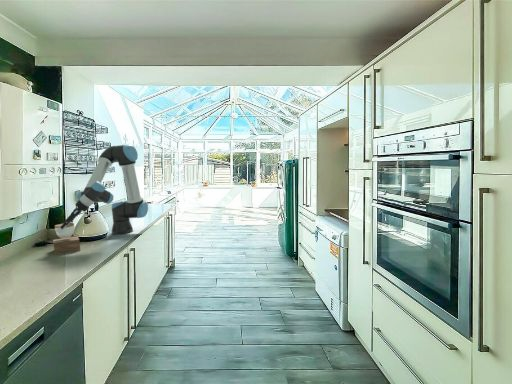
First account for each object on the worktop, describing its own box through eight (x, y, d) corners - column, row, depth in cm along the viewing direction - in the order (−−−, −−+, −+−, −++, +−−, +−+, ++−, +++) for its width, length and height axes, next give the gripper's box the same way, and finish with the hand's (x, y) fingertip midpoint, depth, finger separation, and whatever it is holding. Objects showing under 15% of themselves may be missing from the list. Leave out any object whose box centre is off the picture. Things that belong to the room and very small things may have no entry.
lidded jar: (61, 239, 236) (59, 223, 235) (52, 238, 242) (50, 223, 241) (78, 235, 244) (76, 220, 243) (69, 234, 251) (68, 220, 250)
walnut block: (54, 250, 247) (52, 239, 246) (78, 247, 253) (77, 236, 253) (54, 254, 234) (53, 243, 234) (80, 250, 241) (79, 239, 240)
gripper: (86, 209, 234) (60, 238, 232) (92, 205, 257) (69, 231, 254) (75, 201, 232) (49, 230, 230) (82, 197, 255) (59, 224, 252)
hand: (59, 230), depth 242 cm, fingers closed on lidded jar, 11 cm apart
